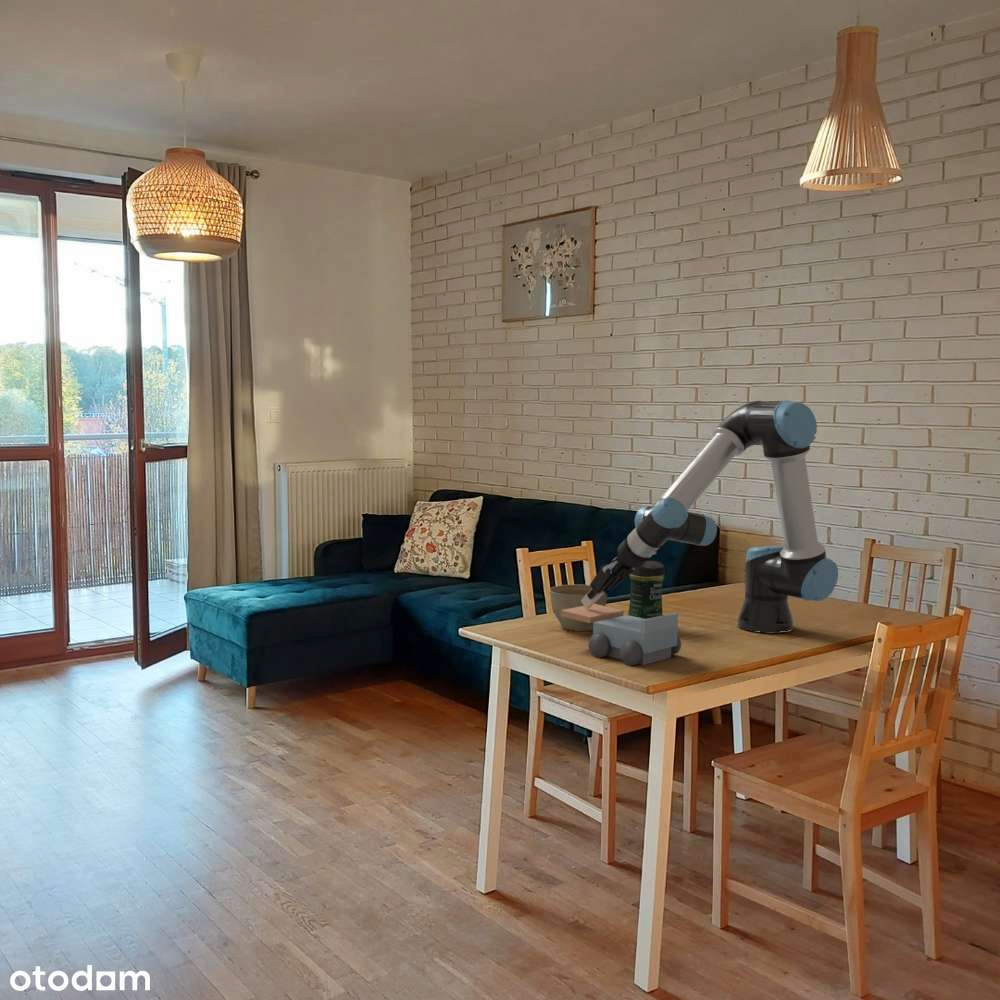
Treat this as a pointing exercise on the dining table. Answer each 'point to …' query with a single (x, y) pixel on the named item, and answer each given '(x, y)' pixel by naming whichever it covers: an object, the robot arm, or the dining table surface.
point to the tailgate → (592, 613)
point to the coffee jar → (646, 590)
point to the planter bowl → (571, 604)
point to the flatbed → (636, 638)
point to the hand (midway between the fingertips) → (585, 604)
